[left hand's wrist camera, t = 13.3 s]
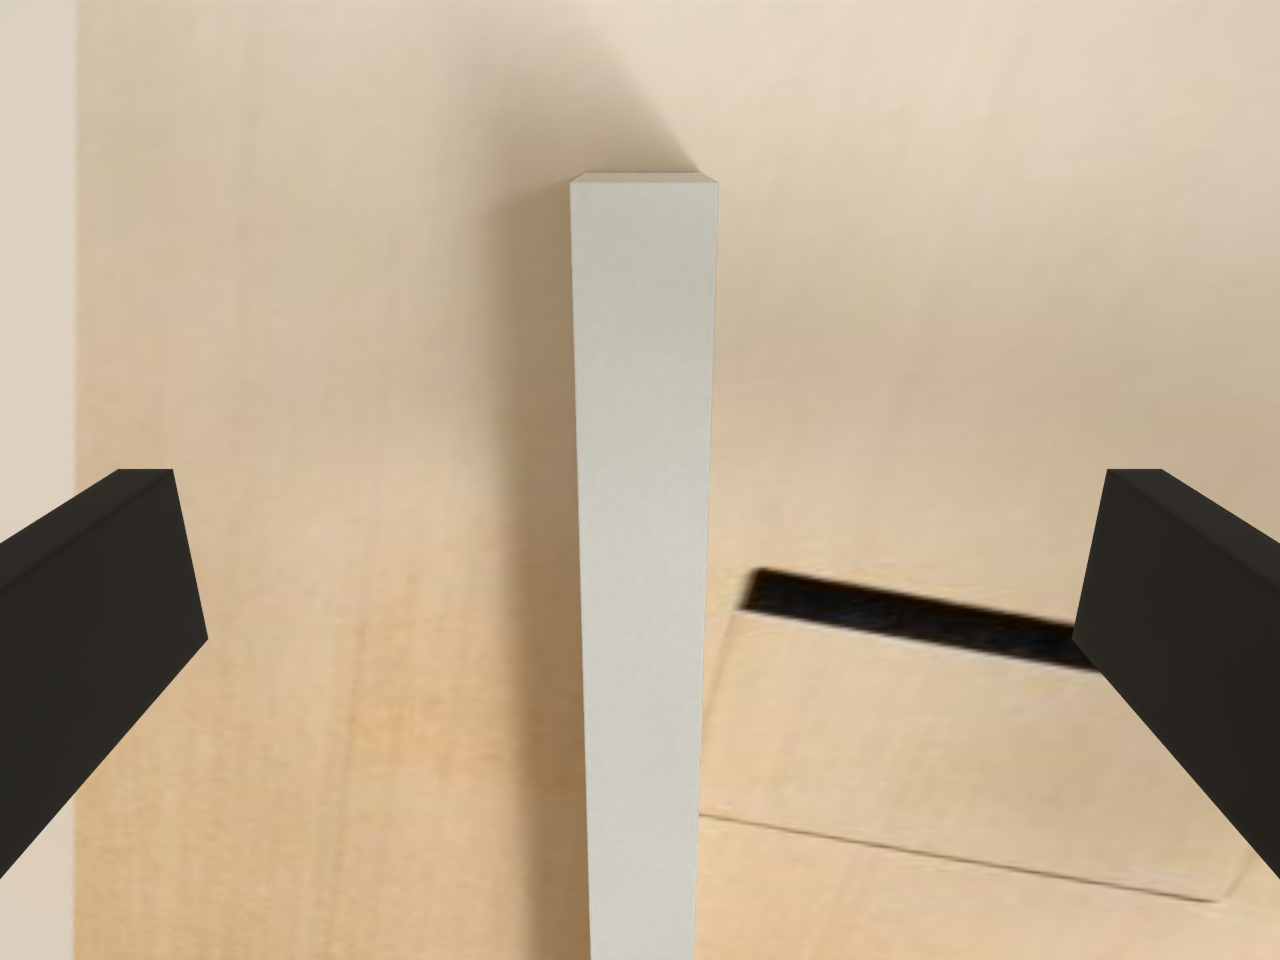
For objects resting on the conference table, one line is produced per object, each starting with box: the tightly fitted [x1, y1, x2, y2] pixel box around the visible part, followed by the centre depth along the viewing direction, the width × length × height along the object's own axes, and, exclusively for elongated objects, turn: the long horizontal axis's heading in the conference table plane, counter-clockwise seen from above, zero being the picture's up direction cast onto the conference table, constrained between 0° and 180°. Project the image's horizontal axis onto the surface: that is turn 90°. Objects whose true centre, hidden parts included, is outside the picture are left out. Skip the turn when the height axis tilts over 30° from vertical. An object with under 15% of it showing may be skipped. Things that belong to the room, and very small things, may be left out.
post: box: [569, 172, 719, 960], centre depth 42 cm, size 57×5×8 cm, turn 0°
